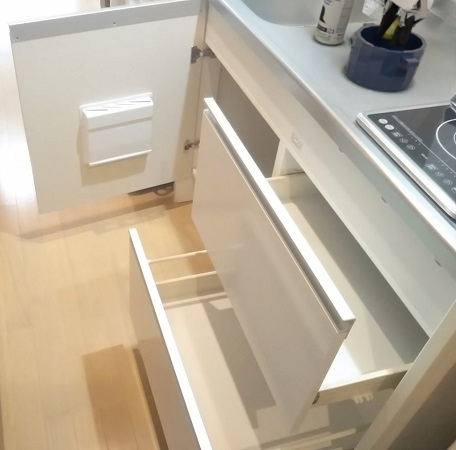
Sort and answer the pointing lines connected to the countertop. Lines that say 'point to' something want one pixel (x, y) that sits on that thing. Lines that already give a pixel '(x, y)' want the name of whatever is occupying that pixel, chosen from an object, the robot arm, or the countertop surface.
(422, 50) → the pot
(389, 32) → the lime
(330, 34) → the spray can
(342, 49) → the countertop surface
